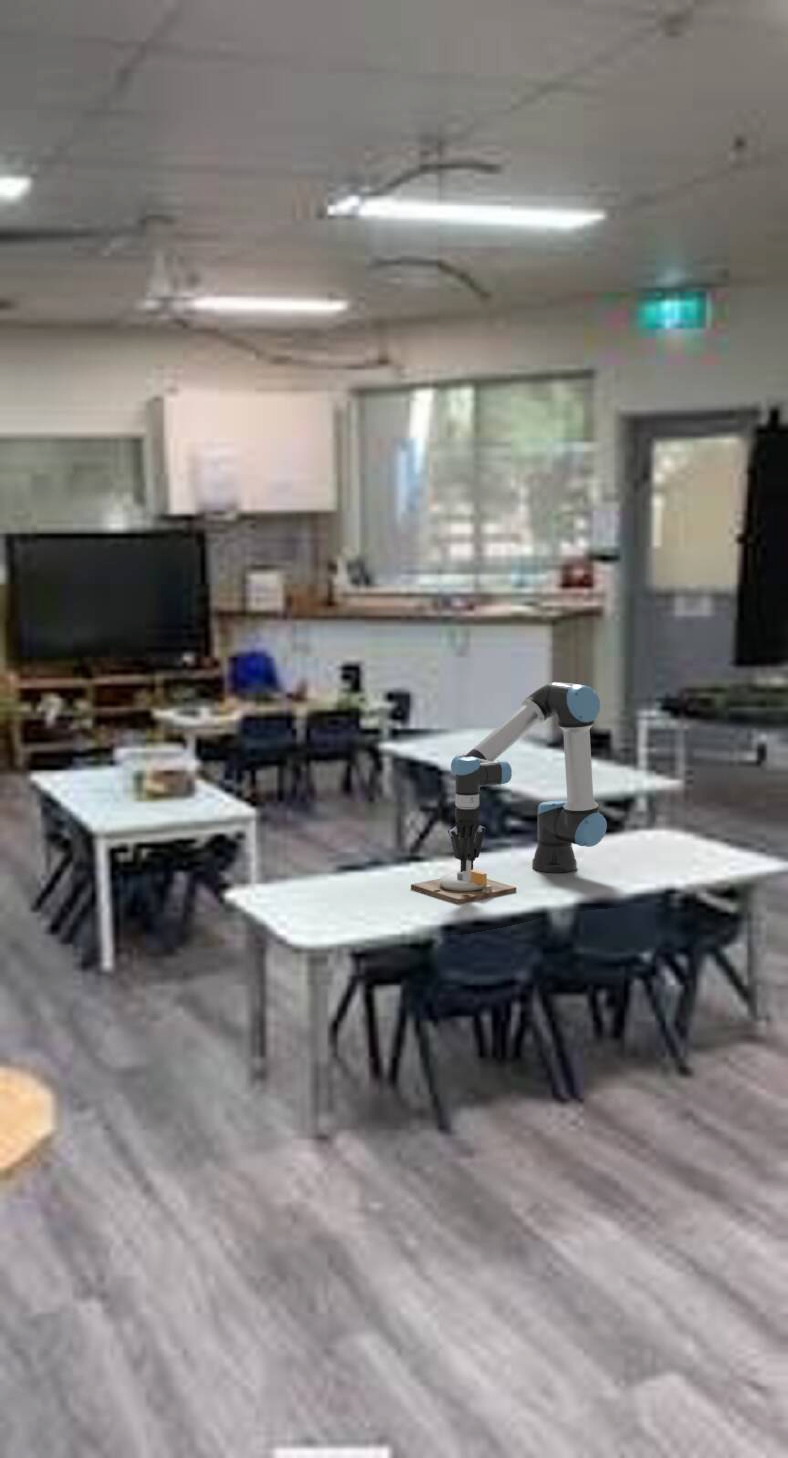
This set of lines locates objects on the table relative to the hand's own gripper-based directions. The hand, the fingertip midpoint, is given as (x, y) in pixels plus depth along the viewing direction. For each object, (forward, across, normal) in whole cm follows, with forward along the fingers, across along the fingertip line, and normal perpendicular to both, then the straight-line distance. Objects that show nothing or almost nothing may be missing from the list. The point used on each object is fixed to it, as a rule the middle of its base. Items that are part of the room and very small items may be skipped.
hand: (466, 880), depth 454 cm
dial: (+3, +3, +6) cm, 8 cm away
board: (+5, +3, +7) cm, 10 cm away
